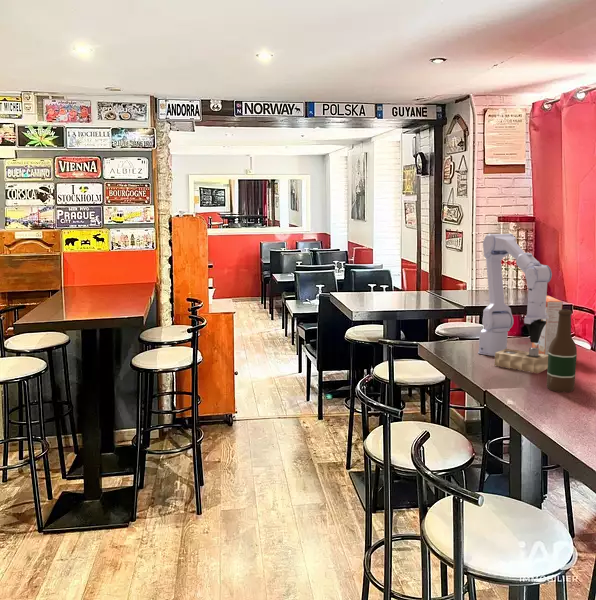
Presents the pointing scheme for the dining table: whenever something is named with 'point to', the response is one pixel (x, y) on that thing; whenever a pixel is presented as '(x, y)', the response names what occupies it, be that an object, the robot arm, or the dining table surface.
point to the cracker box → (549, 325)
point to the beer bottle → (562, 356)
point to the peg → (533, 352)
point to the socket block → (521, 361)
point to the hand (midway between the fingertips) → (534, 342)
